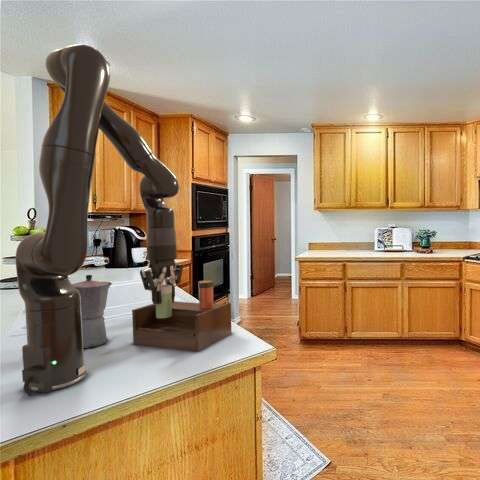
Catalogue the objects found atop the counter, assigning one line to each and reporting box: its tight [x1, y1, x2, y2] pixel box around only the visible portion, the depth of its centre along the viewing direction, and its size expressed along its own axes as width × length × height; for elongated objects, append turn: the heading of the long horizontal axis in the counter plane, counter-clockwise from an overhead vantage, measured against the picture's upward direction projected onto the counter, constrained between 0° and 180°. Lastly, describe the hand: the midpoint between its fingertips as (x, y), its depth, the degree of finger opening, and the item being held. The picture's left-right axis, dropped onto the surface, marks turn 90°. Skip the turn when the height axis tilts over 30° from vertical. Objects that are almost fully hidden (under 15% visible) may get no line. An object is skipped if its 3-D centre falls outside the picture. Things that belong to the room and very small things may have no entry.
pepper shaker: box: [197, 279, 214, 309], centre depth 108 cm, size 4×4×8 cm
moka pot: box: [71, 274, 113, 349], centre depth 100 cm, size 10×15×20 cm, turn 164°
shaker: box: [155, 285, 172, 318], centre depth 103 cm, size 4×4×9 cm
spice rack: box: [131, 299, 232, 352], centre depth 106 cm, size 15×22×10 cm
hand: (163, 301), depth 102 cm, fingers closed on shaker, 4 cm apart
